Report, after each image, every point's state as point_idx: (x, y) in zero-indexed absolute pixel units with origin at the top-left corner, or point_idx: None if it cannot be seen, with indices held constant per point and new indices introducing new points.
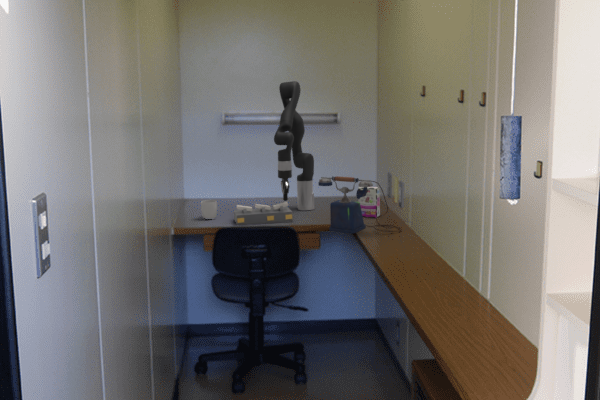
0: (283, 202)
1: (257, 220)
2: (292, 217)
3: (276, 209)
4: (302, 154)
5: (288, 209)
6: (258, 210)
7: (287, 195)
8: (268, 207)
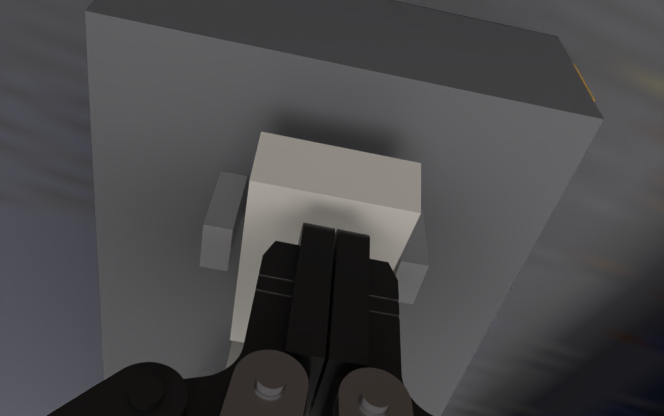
0: (249, 225)
1: None
2: (573, 65)
3: None
4: None
5: (376, 101)
6: None
7: (367, 328)
8: None
